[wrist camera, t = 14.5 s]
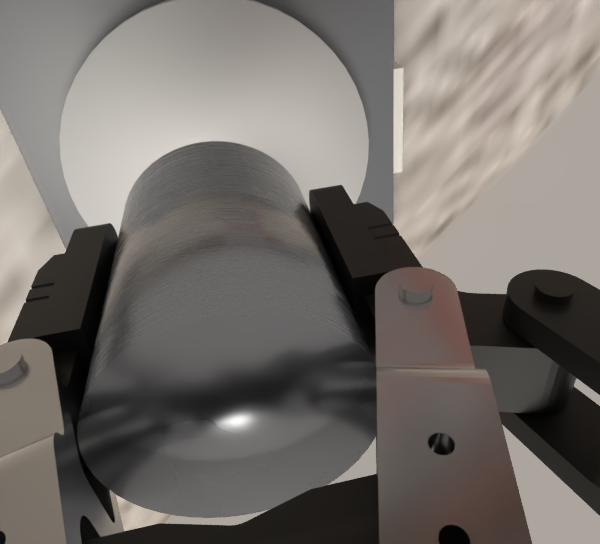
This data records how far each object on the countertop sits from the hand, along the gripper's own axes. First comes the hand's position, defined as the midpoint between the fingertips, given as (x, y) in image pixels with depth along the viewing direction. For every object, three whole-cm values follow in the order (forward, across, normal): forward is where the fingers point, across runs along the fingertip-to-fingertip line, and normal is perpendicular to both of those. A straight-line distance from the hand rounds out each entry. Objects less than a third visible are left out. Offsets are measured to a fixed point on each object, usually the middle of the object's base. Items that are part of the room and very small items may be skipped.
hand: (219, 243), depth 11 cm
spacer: (+1, 0, 0) cm, 1 cm away
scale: (+16, 0, +3) cm, 16 cm away
